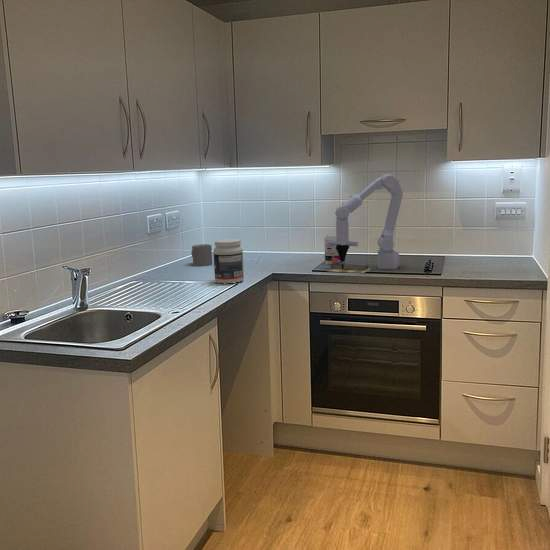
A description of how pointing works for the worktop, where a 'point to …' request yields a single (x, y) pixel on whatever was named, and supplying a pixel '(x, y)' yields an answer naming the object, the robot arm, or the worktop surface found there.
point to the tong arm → (354, 266)
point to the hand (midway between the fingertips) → (342, 261)
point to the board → (349, 270)
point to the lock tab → (334, 260)
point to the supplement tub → (228, 261)
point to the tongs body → (342, 266)
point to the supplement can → (330, 250)
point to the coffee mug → (202, 255)
